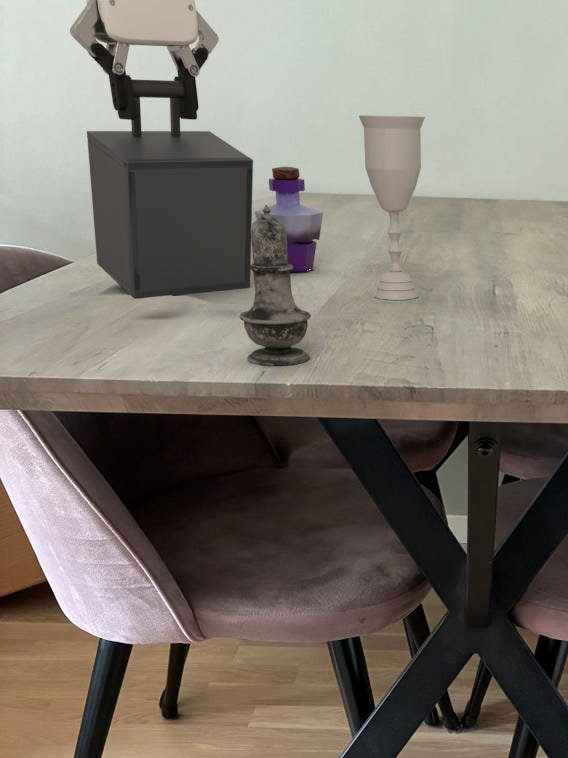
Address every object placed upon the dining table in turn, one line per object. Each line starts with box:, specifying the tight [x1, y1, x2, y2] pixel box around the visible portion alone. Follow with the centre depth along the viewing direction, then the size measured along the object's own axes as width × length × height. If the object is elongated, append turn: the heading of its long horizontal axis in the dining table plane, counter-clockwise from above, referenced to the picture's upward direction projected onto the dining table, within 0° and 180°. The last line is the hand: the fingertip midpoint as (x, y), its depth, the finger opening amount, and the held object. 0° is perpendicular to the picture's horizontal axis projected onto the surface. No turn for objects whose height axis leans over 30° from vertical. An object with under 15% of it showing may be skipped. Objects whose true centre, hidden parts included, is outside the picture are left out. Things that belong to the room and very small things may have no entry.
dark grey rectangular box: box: [86, 78, 254, 300], centre depth 104 cm, size 19×14×10 cm
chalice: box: [358, 115, 426, 301], centre depth 104 cm, size 7×7×18 cm
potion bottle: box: [254, 166, 324, 274], centre depth 121 cm, size 9×9×12 cm
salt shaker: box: [238, 204, 312, 367], centre depth 79 cm, size 6×6×12 cm
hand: (158, 117), depth 102 cm, fingers closed on dark grey rectangular box, 6 cm apart
